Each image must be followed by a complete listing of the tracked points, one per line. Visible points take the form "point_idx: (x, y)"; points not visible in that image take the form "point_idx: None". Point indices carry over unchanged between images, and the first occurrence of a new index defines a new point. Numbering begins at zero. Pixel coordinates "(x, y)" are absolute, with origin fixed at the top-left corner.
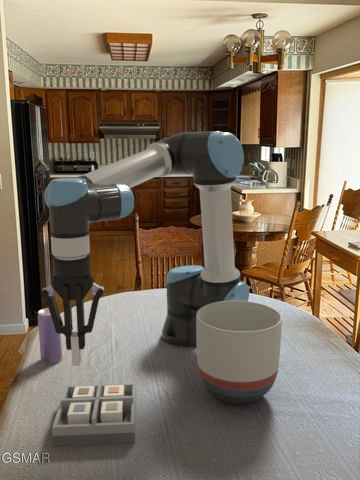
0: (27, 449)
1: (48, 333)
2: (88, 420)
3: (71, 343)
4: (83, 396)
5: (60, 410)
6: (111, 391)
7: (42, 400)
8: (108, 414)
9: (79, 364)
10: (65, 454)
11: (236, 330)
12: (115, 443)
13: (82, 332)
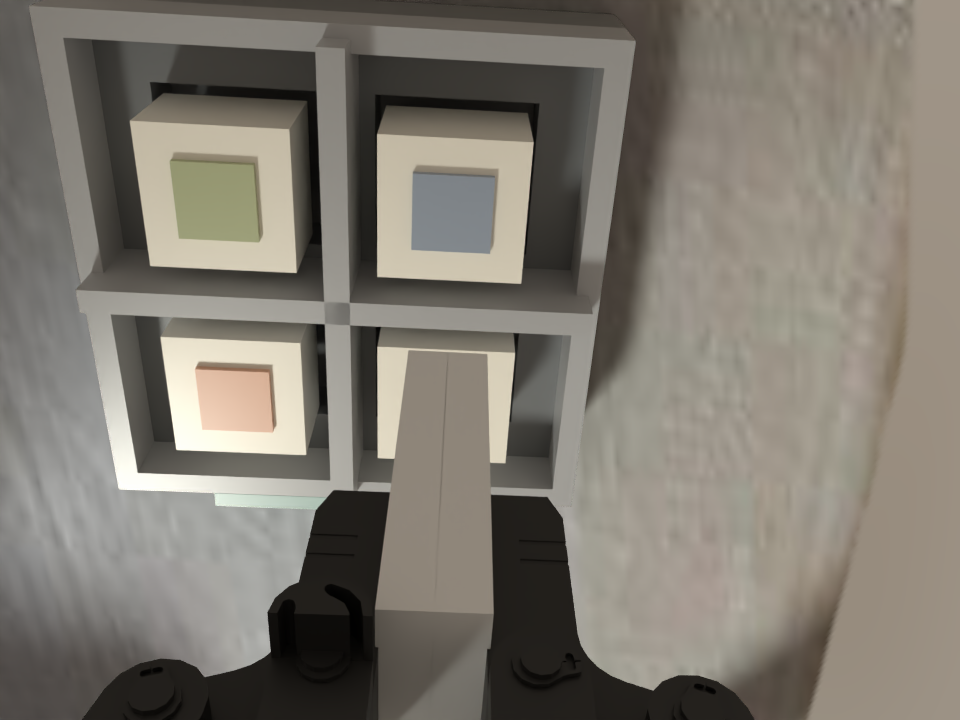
0: (774, 7)
1: None
2: (386, 119)
3: (485, 535)
4: (438, 349)
5: (588, 242)
6: (247, 379)
7: (697, 468)
8: (233, 122)
9: (408, 365)
10: None
11: None
12: None
13: (285, 670)
